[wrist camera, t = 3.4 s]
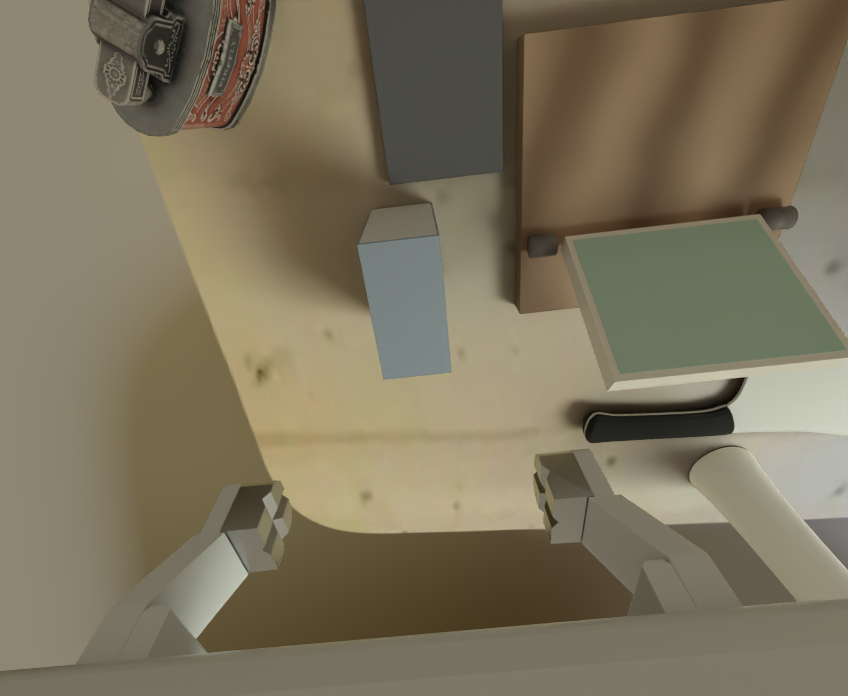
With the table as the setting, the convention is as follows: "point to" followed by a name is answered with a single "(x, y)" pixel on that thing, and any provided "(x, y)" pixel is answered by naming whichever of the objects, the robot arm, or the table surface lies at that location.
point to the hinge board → (665, 126)
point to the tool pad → (438, 86)
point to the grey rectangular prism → (406, 290)
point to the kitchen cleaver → (742, 410)
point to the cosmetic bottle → (769, 524)
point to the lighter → (180, 60)
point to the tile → (698, 304)
